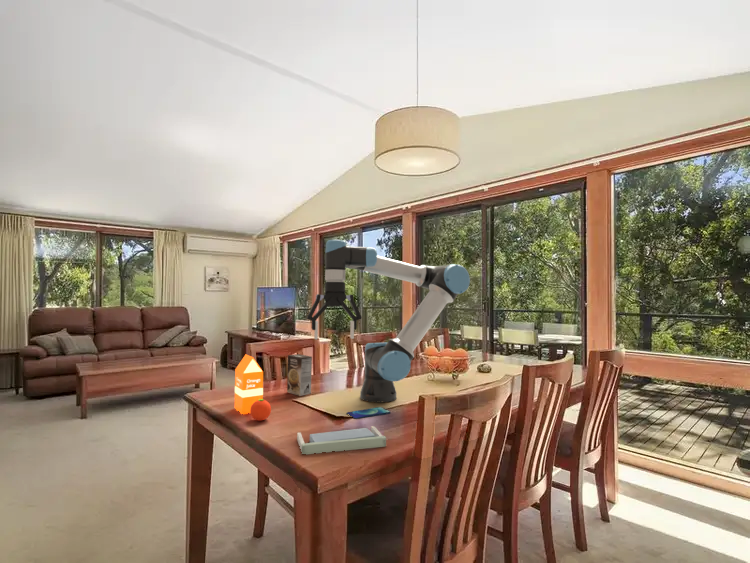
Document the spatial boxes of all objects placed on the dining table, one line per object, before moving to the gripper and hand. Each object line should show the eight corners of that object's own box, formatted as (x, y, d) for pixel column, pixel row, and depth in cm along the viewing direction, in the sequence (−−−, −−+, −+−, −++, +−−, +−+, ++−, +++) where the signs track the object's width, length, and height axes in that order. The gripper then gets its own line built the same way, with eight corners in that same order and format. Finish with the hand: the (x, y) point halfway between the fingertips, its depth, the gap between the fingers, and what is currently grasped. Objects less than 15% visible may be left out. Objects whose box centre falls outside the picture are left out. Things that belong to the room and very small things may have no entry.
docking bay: (373, 432, 131) (374, 424, 131) (386, 446, 120) (386, 437, 120) (297, 439, 124) (297, 431, 124) (302, 454, 113) (302, 445, 113)
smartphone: (345, 412, 151) (380, 406, 158) (345, 414, 151) (380, 408, 158) (355, 418, 144) (391, 411, 152) (355, 420, 144) (391, 414, 152)
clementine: (249, 417, 145) (249, 396, 145) (269, 415, 147) (269, 395, 147) (250, 424, 137) (251, 402, 137) (272, 422, 140) (272, 401, 140)
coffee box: (286, 392, 180) (287, 355, 181) (298, 389, 185) (298, 353, 185) (300, 396, 174) (300, 357, 175) (311, 393, 179) (312, 355, 180)
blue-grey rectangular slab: (366, 435, 130) (366, 427, 130) (374, 443, 123) (374, 435, 123) (309, 442, 123) (309, 434, 123) (315, 451, 116) (315, 442, 116)
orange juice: (254, 405, 159) (255, 353, 160) (262, 411, 152) (264, 356, 153) (233, 408, 155) (234, 355, 155) (241, 414, 148) (242, 358, 148)
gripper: (364, 282, 162) (363, 336, 161) (300, 280, 155) (299, 338, 154) (370, 282, 155) (369, 339, 154) (302, 280, 147) (301, 340, 147)
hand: (334, 338), depth 154 cm, fingers open, 13 cm apart
